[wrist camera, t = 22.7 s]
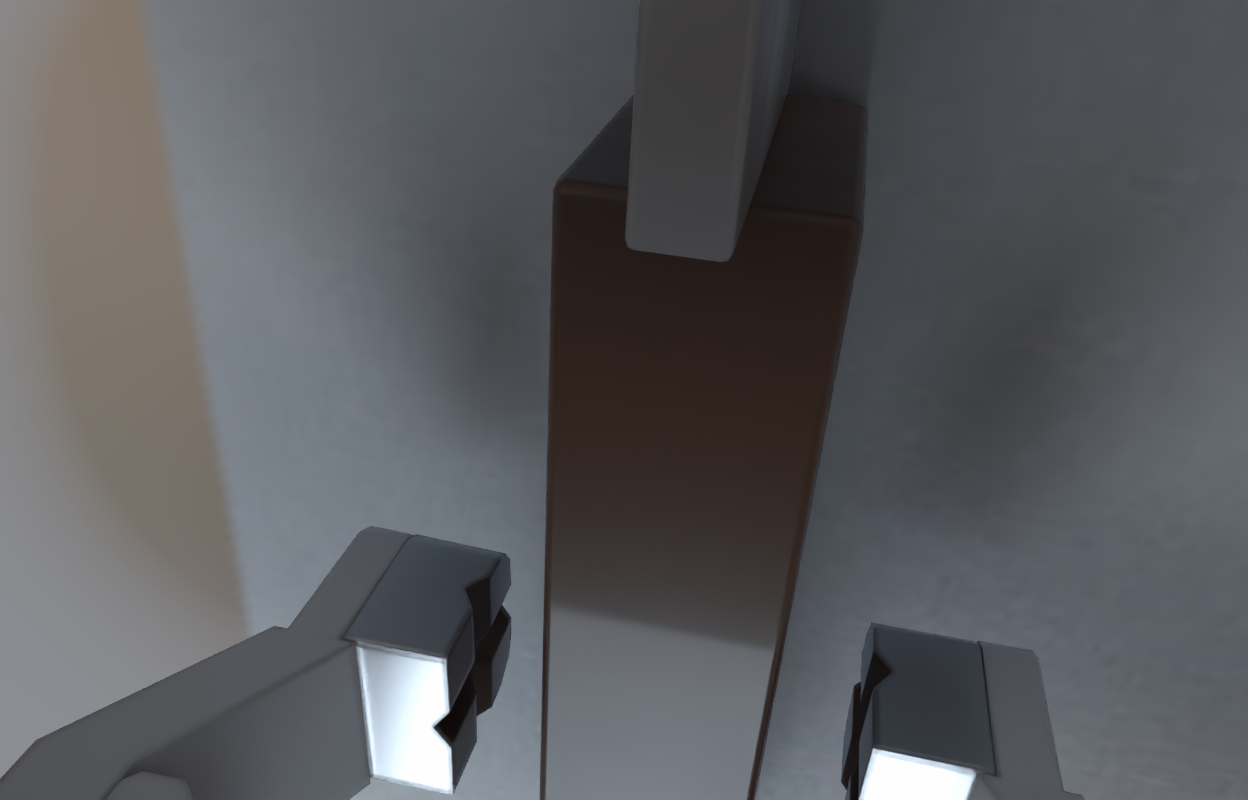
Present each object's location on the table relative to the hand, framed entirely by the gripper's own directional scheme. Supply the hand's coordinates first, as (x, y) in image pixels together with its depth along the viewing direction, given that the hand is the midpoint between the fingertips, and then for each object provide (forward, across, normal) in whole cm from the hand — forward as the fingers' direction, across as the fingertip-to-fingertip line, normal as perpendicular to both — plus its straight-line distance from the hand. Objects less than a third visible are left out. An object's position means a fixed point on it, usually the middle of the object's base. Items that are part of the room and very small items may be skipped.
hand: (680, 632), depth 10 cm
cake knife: (+2, 0, -6) cm, 6 cm away
